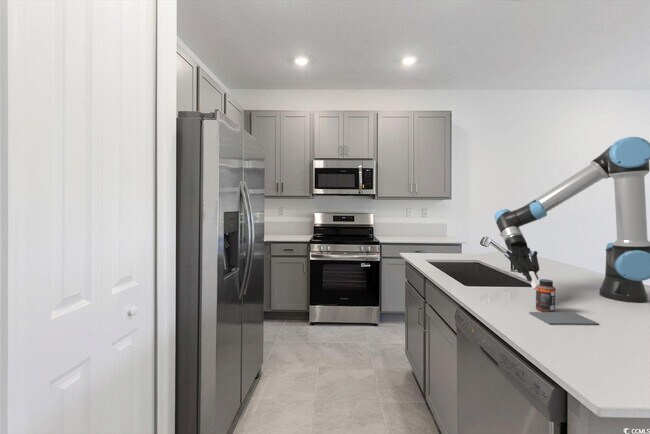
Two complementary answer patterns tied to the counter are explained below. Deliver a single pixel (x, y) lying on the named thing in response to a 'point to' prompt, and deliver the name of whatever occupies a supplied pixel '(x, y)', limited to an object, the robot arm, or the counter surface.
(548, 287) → the supplement bottle
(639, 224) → the robot arm
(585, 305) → the counter surface
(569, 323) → the mat
